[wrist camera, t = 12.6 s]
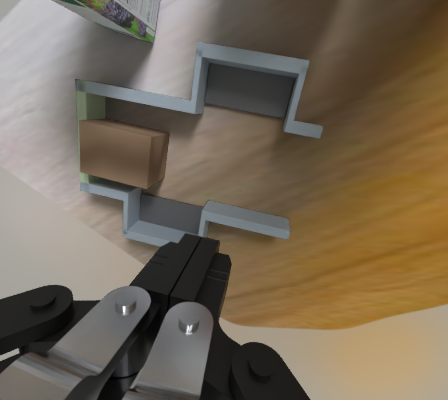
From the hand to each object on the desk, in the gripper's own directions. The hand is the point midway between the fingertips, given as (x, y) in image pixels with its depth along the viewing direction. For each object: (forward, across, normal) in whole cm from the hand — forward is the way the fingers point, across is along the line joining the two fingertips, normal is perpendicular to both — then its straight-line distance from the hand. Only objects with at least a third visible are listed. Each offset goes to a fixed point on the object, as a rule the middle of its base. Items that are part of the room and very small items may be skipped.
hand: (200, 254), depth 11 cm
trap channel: (+16, +5, 0) cm, 17 cm away
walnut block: (+16, +12, 0) cm, 20 cm away
